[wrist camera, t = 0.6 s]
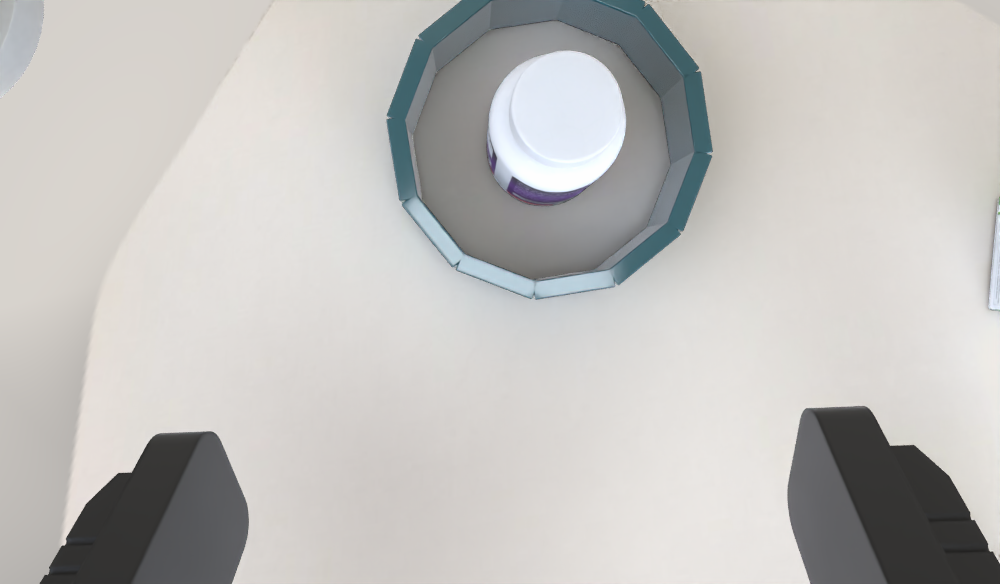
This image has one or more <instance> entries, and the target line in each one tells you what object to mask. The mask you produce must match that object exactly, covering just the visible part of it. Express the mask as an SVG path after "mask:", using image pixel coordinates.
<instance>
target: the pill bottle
mask: <svg viewBox="0 0 1000 584" xmlns="http://www.w3.org/2000/svg"><path fill="white" fill-rule="evenodd" d="M625 131H626V113H625V107H624V103H623V100H622V94H621V91H620V88H619V85H618V83H617V81H616V79H615V78H614V76H613V74H612V73H611V72H610V70H609V69H608V68H607V67H606V66H605V65H604V64H603V63H601V62H600V61H599V60H597V59H596V58H594V57H592V56H590V55H588V54H585V53H582V52H577V51H570V50H564V51H556V52H552V53H549V54H544V55H539V56H536V57H533V58H531V59H529V60H527V61H525V62H523V63H521V64H520V65H518V66H517V67H516V68H514V69H513V70H512V71H511V72H510V73H509V74H508V75H507V76H506V77H505V79H504V80H503V81H502V83H501V84H500V86H499V88H498V89H497V91H496V93H495V96H494V98H493V101H492V104H491V107H490V112H489V119H488V131H487V158H488V162H489V166H490V169H491V171H492V174H493V176H494V177H495V179H496V181H497V182H498V183H499V185H500V186H501V187H502V188H503V189H504V190H505V191H506V192H507V193H508V194H510V195H511V196H512V197H514V198H516V199H517V200H519V201H521V202H524V203H527V204H530V205H536V206H552V205H557V204H561V203H563V202H566V201H568V200H570V199H572V198H574V197H575V196H577V195H578V194H580V193H581V192H582V191H583V190H585V189H586V188H587V187H588V186H590V185H591V184H592V183H593V182H595V181H596V180H597V179H598V178H600V177H601V176H602V175H603V174H604V173H605V172H606V171H607V170H608V168H609V167H610V166H611V165H612V163H613V162H614V161H615V159H616V157H617V156H618V154H619V152H620V149H621V147H622V144H623V141H624V137H625Z"/></svg>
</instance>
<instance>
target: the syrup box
mask: <svg viewBox="0 0 1000 584" xmlns="http://www.w3.org/2000/svg"><path fill="white" fill-rule="evenodd" d="M988 307H989V309H990V310H995V311H1000V197H999V199H998V208H997V217H996V227H995V238H994V247H993V259H992V270H991V283H990V296H989V306H988Z"/></svg>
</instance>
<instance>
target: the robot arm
mask: <svg viewBox="0 0 1000 584" xmlns="http://www.w3.org/2000/svg"><path fill="white" fill-rule="evenodd" d="M788 509H789V516H790V521H791V526H792V529H793V533H794V536H795V539H796V542H797V545H798V548H799V551H800V554H801V557H802V560H803V563H804V566H805V568H806V571H807V574H808V577H809V580H810V583H811V584H1000V563H999V562H998V560H997V558H996V557H995V555H994V553H993V552H990V551H989V549H988V543H987V541H986V539H985V537H984V536H983V534H982V532H981V531H980V529H979V527H978V525H977V524H976V522H975V520H971V518H970V511H969V510H968V508H967V506H966V504H965V503H964V501H963V499H962V498H961V496H960V494H959V492H958V491H957V489H956V487H955V485H954V484H953V482H952V480H951V478H950V477H949V476H948V475H947V474H946V473H945V472H944V471H943V470H942V469H941V468H939V467H938V466H937V465H936V464H935V463H934V462H933V461H931V460H930V459H929V458H928V457H927V456H926V455H925V454H924V453H922V452H921V451H920V450H919V449H918V448H917V447H916V446H914V445H904V446H890V445H889V443H888V441H887V439H886V437H885V435H884V434H883V432H882V430H881V428H880V426H879V424H878V422H877V420H876V418H875V416H874V415H873V413H872V412H871V410H870V409H868V408H867V407H865V406H853V407H829V408H806V409H805V410H804V411H803V413H802V415H801V419H800V424H799V429H798V435H797V440H796V445H795V450H794V456H793V461H792V466H791V471H790V477H789V482H788ZM248 526H249V517H248V507H247V503H246V500H245V497H244V495H243V493H242V490H241V488H240V486H239V483H238V481H237V478H236V476H235V474H234V471H233V469H232V467H231V464H230V462H229V460H228V457H227V455H226V452H225V450H224V448H223V445H222V443H221V441H220V439H219V437H218V436H217V435H216V434H215V433H214V432H211V431H209V432H185V433H161V434H157V435H155V436H154V437H153V438H152V439H151V440H150V441H149V443H148V444H147V446H146V448H145V449H144V451H143V453H142V455H141V457H140V459H139V460H138V462H137V464H136V466H135V468H134V470H133V471H132V473H118V474H117V475H116V476H115V477H114V478H113V479H112V480H111V481H110V482H109V483H108V484H106V485H105V486H104V487H103V488H102V489H101V490H100V491H99V492H98V493H97V494H96V495H95V496H94V497H93V498H92V499H91V500H90V501H89V502H88V503H87V504H86V505H85V507H84V509H83V510H82V512H81V514H80V516H79V517H78V519H77V521H76V522H75V524H74V526H73V528H72V529H71V531H70V533H69V534H68V536H67V538H66V541H67V542H66V545H65V546H61V548H60V550H59V552H58V553H57V555H56V557H55V558H54V560H53V562H52V564H51V565H50V567H49V569H50V572H49V574H48V575H45V576H44V578H43V579H42V581H41V582H40V584H232V582H233V579H234V576H235V573H236V570H237V567H238V565H239V562H240V559H241V556H242V553H243V550H244V548H245V544H246V540H247V535H248Z"/></svg>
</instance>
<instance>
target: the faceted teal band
mask: <svg viewBox="0 0 1000 584" xmlns="http://www.w3.org/2000/svg"><path fill="white" fill-rule="evenodd" d="M644 6H645V1H643V0H461V1H460V2H459V3H458V4H457V5H455V6H454V7H453V8H452V9H450V10H449V11H448V12H447V13H445V14H444V15H443V16H442V17H440V18H439V19H438V20H437V21H435V22H434V23H433V24H432V25H430V26H429V27H428V28H427V29H426V30H424V31H423V32H422V33H421V34H419V39H416V40H415V42H414V45H413V47H412V50H411V53H410V55H409V58H408V61H407V63H406V66H405V69H404V71H403V74H402V76H401V79H400V82H399V84H398V87H397V90H396V92H395V95H394V97H393V100H392V103H391V105H390V108H389V111H388V113H387V117H388V118H389V119H387V120H386V121H387V127H388V134H389V140H390V146H391V152H392V158H393V164H394V171H395V177H396V183H397V189H398V195H399V200H400V201H401V202H402V206H403V207H404V209H405V210H406V211H407V212H408V214H409V215H410V216H411V217H412V219H413V220H414V221H415V222H416V223H417V225H418V226H419V227H420V228H421V230H422V231H423V232H424V233H425V235H426V236H427V237H428V238H429V239H430V241H431V242H432V243H433V244H434V246H435V247H436V248H437V249H438V251H439V252H440V253H441V254H442V255H443V257H444V258H445V259H446V260H447V262H448V263H449V264H450V265H451V267H454V268H456V267H457V268H456V270H457V271H459V272H462V273H464V274H467V275H470V276H472V277H475V278H477V279H480V280H483V281H485V282H488V283H490V284H493V285H496V286H498V287H501V288H503V289H506V290H509V291H511V292H514V293H517V294H519V295H522V296H524V297H527V298H530V299H532V298H534V299H536V300H537V299H543V298H549V297H555V296H562V295H568V294H574V293H580V292H587V291H593V290H599V289H605V288H612V287H615V285H620V284H621V283H622V282H623V281H625V280H626V279H627V278H628V277H629V276H631V275H632V274H633V273H634V272H636V271H637V270H638V269H639V268H640V267H642V266H643V265H644V264H645V263H647V262H648V261H649V260H650V259H652V258H653V257H654V256H655V255H656V254H658V253H659V252H660V251H661V250H663V249H664V248H665V247H666V246H668V245H669V244H670V243H671V242H672V241H674V240H675V239H676V238H677V237H679V236H680V235H681V234H680V232H681V231H683V230H684V228H685V226H686V223H687V220H688V218H689V215H690V213H691V210H692V207H693V205H694V202H695V200H696V197H697V194H698V192H699V189H700V187H701V184H702V182H703V179H704V176H705V174H706V171H707V169H708V166H709V163H710V161H711V158H712V156H711V155H709V154H710V153H712V152H713V150H712V143H711V136H710V129H709V123H708V116H707V109H706V103H705V96H704V89H703V82H702V76H701V72H696V71H697V70H698V69H699V67H698V66H697V65H696V63H695V62H694V61H693V59H692V58H691V57H690V56H689V54H688V53H687V52H686V50H685V49H684V48H683V47H682V45H681V44H680V43H679V42H678V40H677V39H676V38H675V36H674V35H673V34H672V33H671V31H670V30H669V29H668V27H667V26H666V25H665V24H664V22H663V21H662V20H661V19H660V17H659V16H658V15H657V13H656V12H655V11H654V10H653V8H652V7H651V6H650V5H649V4H648V5H647V6H645V7H644ZM551 20H559V21H561V22H564V23H566V24H569V25H571V26H574V27H576V28H579V29H581V30H584V31H586V32H589V33H591V34H594V35H596V36H599V37H601V38H604V39H606V40H609V41H611V42H614V43H616V44H619V45H620V47H621V48H622V49H623V51H624V52H625V53H626V54H627V56H628V57H629V58H630V59H631V61H632V62H633V63H634V64H635V66H636V67H637V68H638V70H639V71H640V72H641V73H642V75H643V76H644V77H645V78H646V80H647V81H648V82H649V84H650V85H651V86H652V87H653V89H654V90H655V91H656V92H657V94H658V95H659V96H660V97H661V103H662V109H663V116H664V123H665V129H666V136H667V142H668V149H669V156H670V162H671V166H670V168H669V171H668V173H667V176H666V178H665V181H664V184H663V186H662V189H661V191H660V194H659V197H658V199H657V202H656V204H655V207H654V210H653V212H652V215H651V217H650V220H649V223H648V225H647V227H646V228H645V229H644V230H643V231H641V232H640V233H639V234H638V235H636V236H635V237H634V238H633V239H632V240H630V241H629V242H628V243H627V244H625V245H624V246H623V247H622V248H620V249H619V250H618V251H617V252H616V253H614V254H613V255H612V256H611V257H609V258H608V259H607V260H606V261H604V262H603V263H602V264H601V265H600V266H598V267H597V268H596V269H593V270H587V271H581V272H575V273H568V274H562V275H556V276H549V277H543V278H537V279H530V278H527V277H524V276H522V275H519V274H517V273H514V272H511V271H509V270H506V269H504V268H501V267H498V266H496V265H493V264H491V263H488V262H485V261H483V260H480V259H478V258H475V257H472V256H470V255H467V254H465V253H464V252H463V250H462V249H461V248H460V247H459V245H458V244H457V243H456V242H455V240H454V239H453V238H452V237H451V236H450V234H449V233H448V232H447V231H446V229H445V228H444V227H443V226H442V224H441V223H440V222H439V221H438V220H437V218H436V217H435V216H434V215H433V213H432V212H431V211H430V210H429V208H428V207H427V206H426V205H425V203H424V202H423V198H422V191H421V185H420V179H419V173H418V167H417V160H416V154H415V148H414V142H413V133H414V131H415V128H416V125H417V123H418V120H419V118H420V115H421V112H422V110H423V107H424V104H425V102H426V99H427V96H428V94H429V91H430V89H431V86H432V83H433V81H434V78H435V75H436V73H437V72H438V71H439V70H440V69H441V68H443V67H444V66H445V65H446V64H448V63H449V62H450V61H451V60H453V59H454V58H455V57H456V56H457V55H459V54H460V53H461V52H462V51H464V50H465V49H466V48H467V47H469V46H470V45H471V44H472V43H474V42H475V41H476V40H477V39H479V38H480V37H481V36H482V35H483V34H485V33H486V32H487V31H488V30H490V29H497V28H504V27H510V26H517V25H524V24H531V23H537V22H544V21H551Z"/></svg>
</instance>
